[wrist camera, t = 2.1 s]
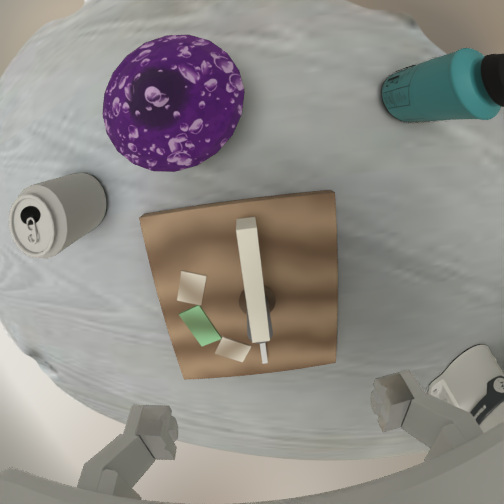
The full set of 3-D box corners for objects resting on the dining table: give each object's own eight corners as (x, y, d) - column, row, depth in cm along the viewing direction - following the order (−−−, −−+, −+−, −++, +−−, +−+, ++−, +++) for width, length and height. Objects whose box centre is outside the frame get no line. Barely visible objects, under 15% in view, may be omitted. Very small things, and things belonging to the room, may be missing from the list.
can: (104, 166, 33) (49, 180, 21) (114, 226, 35) (66, 262, 24) (57, 178, 33) (-3, 196, 21) (67, 232, 35) (14, 267, 24)
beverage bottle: (411, 132, 32) (534, 141, 13) (367, 108, 31) (482, 89, 12) (424, 89, 30) (542, 73, 11) (381, 64, 29) (491, 18, 10)
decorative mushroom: (117, 134, 31) (43, 135, 17) (172, 44, 28) (129, -11, 14) (206, 184, 34) (179, 214, 20) (265, 92, 30) (281, 54, 16)
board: (332, 354, 43) (336, 363, 40) (186, 370, 43) (183, 380, 41) (330, 189, 34) (335, 193, 32) (144, 213, 35) (138, 218, 33)
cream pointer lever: (274, 357, 40) (279, 392, 33) (255, 359, 40) (257, 394, 33) (257, 210, 33) (261, 227, 26) (233, 213, 33) (231, 230, 26)
